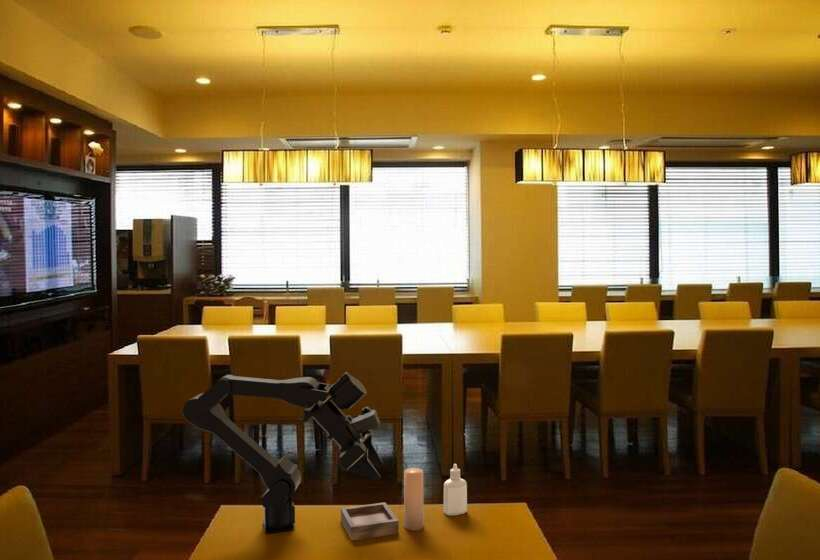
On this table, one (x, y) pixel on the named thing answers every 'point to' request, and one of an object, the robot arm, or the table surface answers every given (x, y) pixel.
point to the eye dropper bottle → (455, 494)
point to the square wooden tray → (369, 521)
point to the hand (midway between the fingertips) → (380, 471)
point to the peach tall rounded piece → (413, 498)
